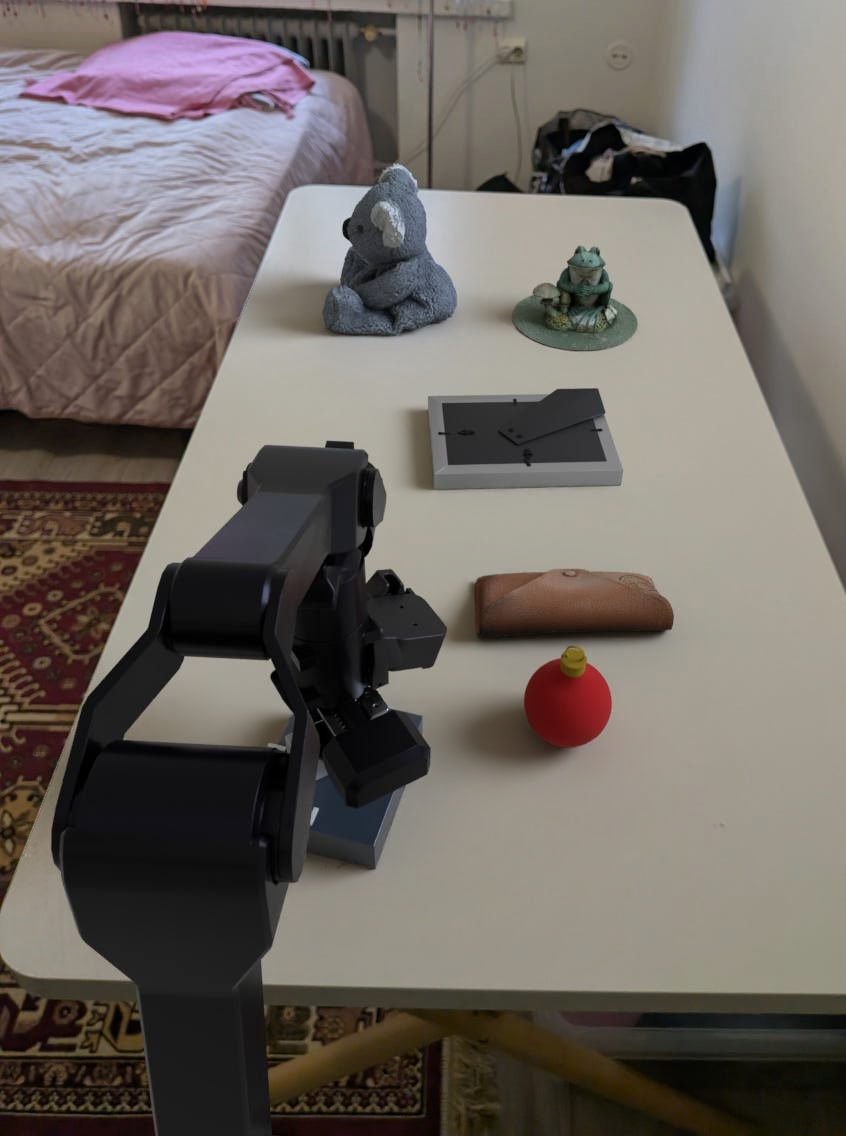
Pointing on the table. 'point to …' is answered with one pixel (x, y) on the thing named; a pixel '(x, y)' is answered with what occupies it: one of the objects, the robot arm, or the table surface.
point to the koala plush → (389, 265)
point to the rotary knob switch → (349, 818)
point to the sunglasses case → (568, 603)
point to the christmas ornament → (568, 700)
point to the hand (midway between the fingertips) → (336, 757)
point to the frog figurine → (576, 308)
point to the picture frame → (522, 441)
